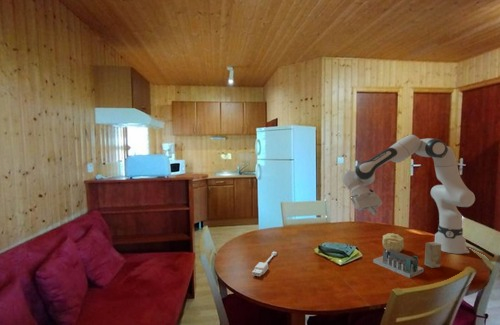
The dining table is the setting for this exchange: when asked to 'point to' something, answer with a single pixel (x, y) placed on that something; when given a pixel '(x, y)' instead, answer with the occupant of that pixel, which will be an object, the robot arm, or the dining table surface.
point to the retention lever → (401, 256)
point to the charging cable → (262, 266)
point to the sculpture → (393, 242)
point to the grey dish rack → (399, 265)
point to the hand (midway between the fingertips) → (375, 214)
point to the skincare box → (432, 254)
